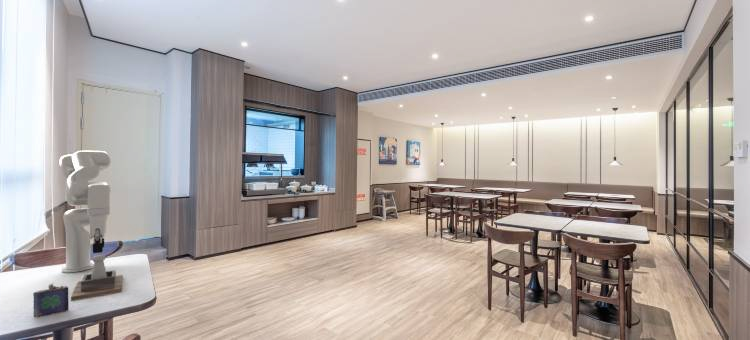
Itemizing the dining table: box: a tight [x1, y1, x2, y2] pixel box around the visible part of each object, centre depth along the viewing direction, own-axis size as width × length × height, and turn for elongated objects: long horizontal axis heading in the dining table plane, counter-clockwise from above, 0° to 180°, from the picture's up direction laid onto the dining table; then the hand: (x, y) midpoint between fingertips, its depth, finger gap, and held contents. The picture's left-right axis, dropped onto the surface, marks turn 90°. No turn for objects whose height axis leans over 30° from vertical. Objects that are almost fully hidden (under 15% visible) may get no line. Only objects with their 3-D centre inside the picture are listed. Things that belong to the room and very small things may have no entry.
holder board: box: [70, 269, 124, 302], centre depth 145 cm, size 22×16×6 cm
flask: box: [32, 283, 70, 318], centre depth 120 cm, size 9×3×11 cm, turn 129°
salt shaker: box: [91, 254, 107, 280], centre depth 145 cm, size 6×6×13 cm
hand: (98, 250), depth 145 cm, fingers open, 9 cm apart
